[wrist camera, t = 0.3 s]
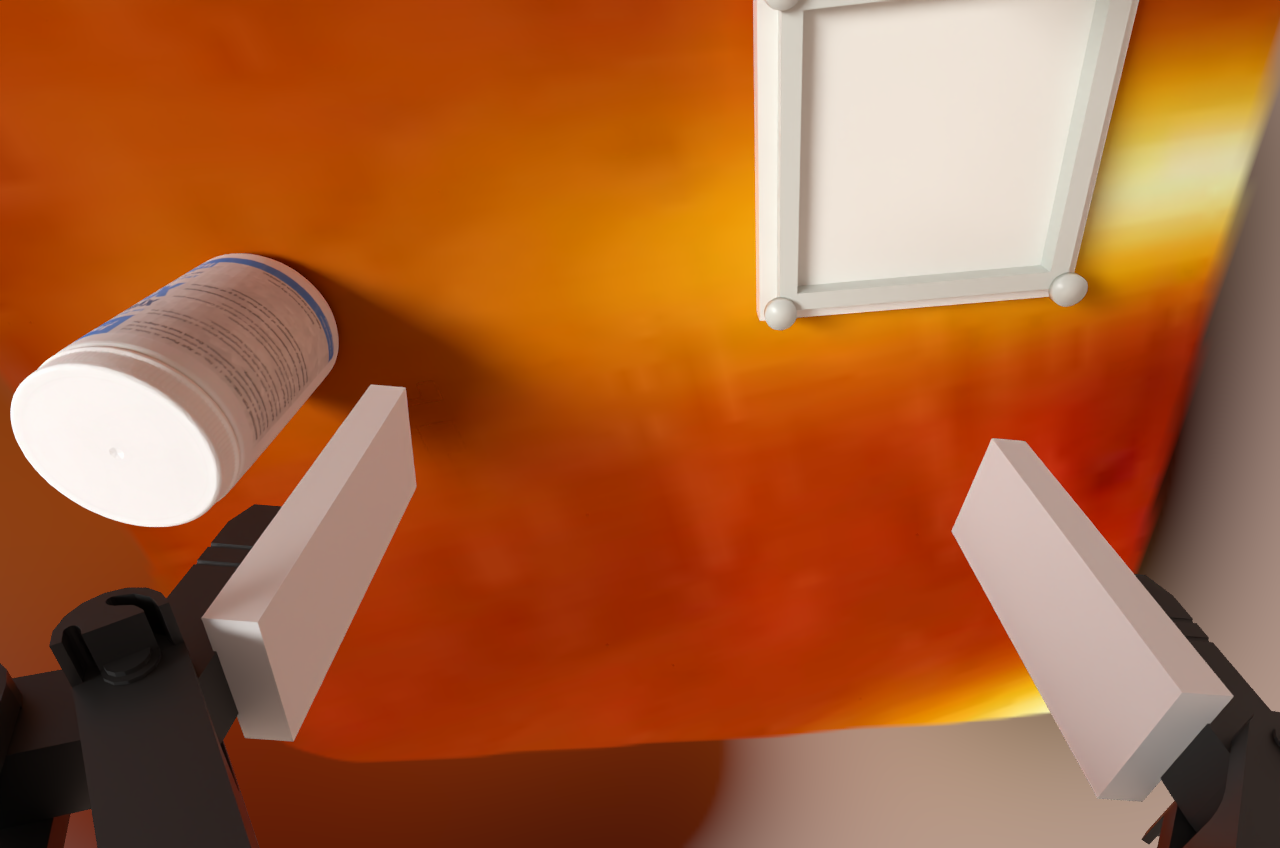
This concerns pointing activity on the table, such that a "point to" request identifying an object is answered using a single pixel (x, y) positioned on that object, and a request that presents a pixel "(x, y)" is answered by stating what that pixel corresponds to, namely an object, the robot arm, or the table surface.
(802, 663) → the table surface
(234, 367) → the supplement tub
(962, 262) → the white square tray
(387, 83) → the table surface
